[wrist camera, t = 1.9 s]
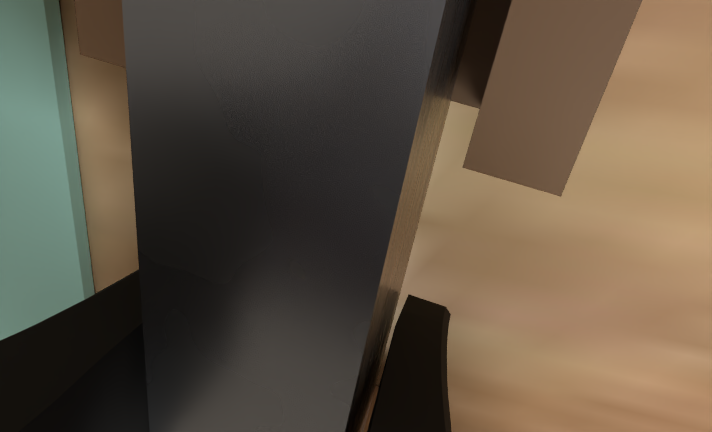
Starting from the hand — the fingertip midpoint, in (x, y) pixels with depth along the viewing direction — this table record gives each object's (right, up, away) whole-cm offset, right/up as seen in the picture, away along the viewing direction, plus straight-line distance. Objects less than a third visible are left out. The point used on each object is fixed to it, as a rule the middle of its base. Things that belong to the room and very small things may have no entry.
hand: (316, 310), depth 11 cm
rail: (0, 0, 0) cm, 0 cm away
